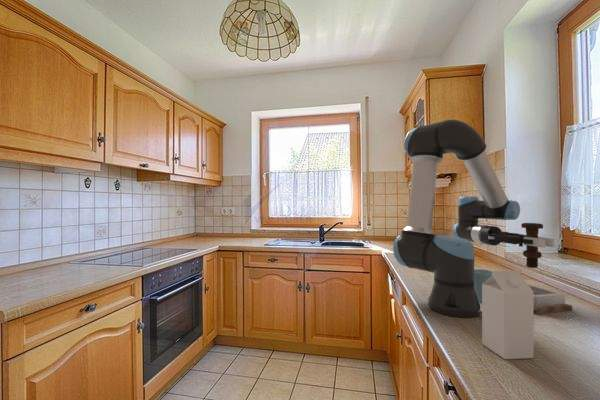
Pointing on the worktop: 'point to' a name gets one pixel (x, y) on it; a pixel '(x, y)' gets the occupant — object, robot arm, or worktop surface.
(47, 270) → the worktop surface
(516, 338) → the milk carton
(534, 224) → the bolt
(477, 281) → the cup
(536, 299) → the hinge base
